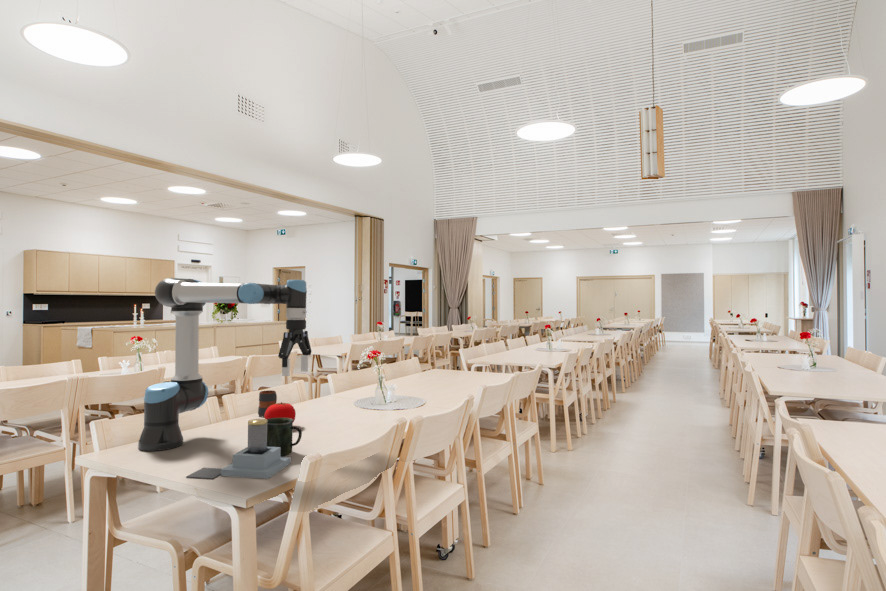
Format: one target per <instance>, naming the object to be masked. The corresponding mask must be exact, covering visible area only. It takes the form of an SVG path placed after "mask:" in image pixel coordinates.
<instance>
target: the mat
mask: <svg viewBox="0 0 886 591" xmlns="http://www.w3.org/2000/svg"><path fill="white" fill-rule="evenodd" d="M221 469H222V468H218V467H217V468H216V467H202V468H199V469H198V470H196V471H194V472H192V473H190V474H189V475H186V476H185V477H186V478H187V479H200V480H201V479H202V480H214V479H216V478H218V477H219V476H221Z"/></svg>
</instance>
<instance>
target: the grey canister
mask: <svg viewBox="0 0 886 591" xmlns="http://www.w3.org/2000/svg"><path fill="white" fill-rule="evenodd" d="M247 447H248V454H261V455H262V454H264V453H266V452H267V419H265V418H254V419H253V418H252V419H249V420H248V421H247Z"/></svg>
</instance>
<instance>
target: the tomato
mask: <svg viewBox="0 0 886 591" xmlns="http://www.w3.org/2000/svg"><path fill="white" fill-rule="evenodd" d="M263 418H264V419H270V418H291V419H293V420H294V421H295V420H296V409H295V408H294V405H292V404H290V403H286V402H282V401H281V402H278V403H277V402H276V404H273V405H271V406H269V407H268V409H267V410H266V412H265V415H264V417H263Z"/></svg>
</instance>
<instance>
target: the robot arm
mask: <svg viewBox="0 0 886 591" xmlns="http://www.w3.org/2000/svg"><path fill="white" fill-rule="evenodd" d="M307 293H308V291H307V282H306V281H305V280H304V279H288V280H286V284H266V283H255V282H247V283H243V282H242V283H241V282H240V283H239V282H238V283H237V282H202V281H200V280H197V279H194V278H178V277H177V278H176V277H167V278H164V279H162V280H160V281H159V282H158V283H157V285H156V286H155V290H154V295H155V296H154V297H155V299H156V300H157V301H158V303H159V304H161V305H163V306H165V307H167V308H171V313H172V314H173V315H174V316H175V330H174V332H175V333H174V334H175V341H174V342H175V345H174V346H175V347H174V350H175V359H174V360H175V361H174V362H175V363H174V365H175V366H174V369H175V370H174V372H175V373H174V375H173V376H172V377H171V378H170V381H164V382H159V383H155V384H152V385H150V386H148V387H147V388H146V389H145V392H144V396H143V401H144V402H143V408H144V409H143V412H144V413H143V421H144V422H143V429H142V432H141V434H140V436H139V440H138V442H137V443H138V445H137V446H138V447H137V448H138V450H139V451H145V452H146V451H147V452H149V451H150V452H154V451H155V452H156V451H165V450H171V449H174V448H178V447H181V446H182V445H183V444H184V436H183V433H182V430H181V426H180V424H179V423H180V422H179V418H180V414H183V413H185V412H189V411H190V412H191V411H194V410H196V409H198V408H200V407H202V406H203V405H204V404H205V403H206V402H207V400H208V397H209V387H208V385H206V382H204V381H203V375H201V374H200V373H199V358H200V357H199V354H200V353H199V346H200V345H199V342H200V340H199V338H200V336H199V335H200V333H199V332H200V328H199V327H200V326H199V325H200V324H199V322H200V319H199V318H200V315H201V314H202V313H203V312H204V311H203V309H204V306H206V304H210V303H211V304H213V303H214V304H248V305H256V304H258V305H259V304H262V305H263V304H264V305H271V304H272V305H276V304H277V305H279V304H280V305H286V308H285V309H286V311H285V312H286V314H285V318H286V321H285V329H286V330H288V331H287V332H286V331H284V332H283V337H282V341H281V345H280V348H279V352H278V358H279V359H281V376H282V377H289V376H290V368H291V367H290V366H291V364H290V363H291V361H290V360H291V359H290V358H289V357H290V355H291V353H292V350H293V349H294V346H295V345H296V344H297V345H298V347H299V350H300V352H301V354H302V355H300V361H301V362H300V372H304V373H305V372H307V373H308V372H309V356H311V354H312V348H311V344H310V340H309V334H308V331H309V330H306V329H307V320H306V318H307Z"/></svg>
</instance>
